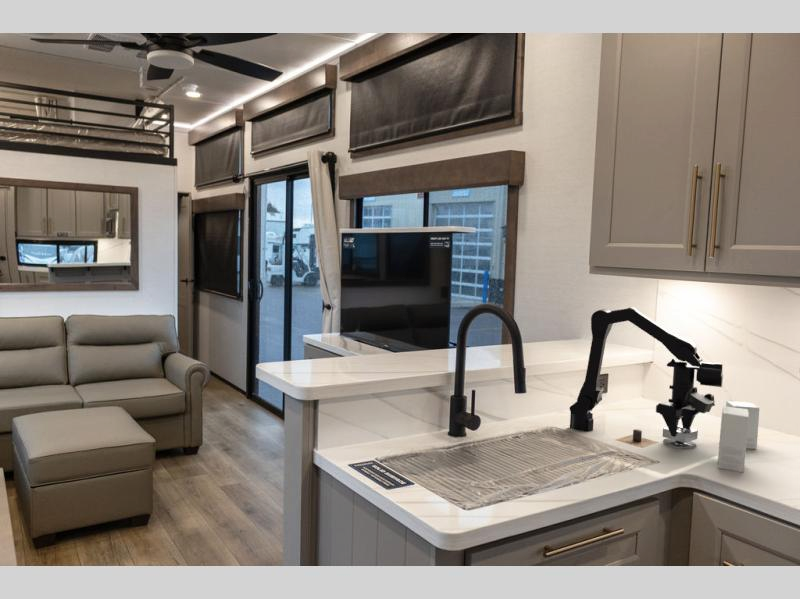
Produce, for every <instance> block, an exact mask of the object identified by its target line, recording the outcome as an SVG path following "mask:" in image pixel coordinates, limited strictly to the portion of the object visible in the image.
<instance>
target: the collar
mask: <svg viewBox="0 0 800 599" xmlns="http://www.w3.org/2000/svg"><path fill="white" fill-rule="evenodd" d="M677 428H681V429H684V430H685V431H684V432H682V431H678V430H677V432H676V436H675V437H673V436H671V434H670V431H669V429H668V427H667V426H666V427H663V428H662V438H664V439H666V438H669V439H673V440H677V441H680V442H684V443H686V442H689V441H692V442H693V441H695V440H698V433H699V431H698V430H699V429H695V428H691V427H690V428H687V427H683V425H679V424H678V427H677Z"/></svg>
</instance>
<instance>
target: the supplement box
mask: <svg viewBox="0 0 800 599" xmlns="http://www.w3.org/2000/svg"><path fill="white" fill-rule="evenodd" d="M725 403H726V405H725V406H726V407H733V408H742V409H748V412H749V424H748V435H747V446H746V449H749V450H751V449H752V450H756V449H758V448H757V447H758V436H759V435H758V434H759V421H760V420H759V419H760V417H759V416H760V407H759V406H757V405H755V404H754V403H752V402H749V401H729V400H727V401H726V402H725Z"/></svg>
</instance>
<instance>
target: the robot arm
mask: <svg viewBox="0 0 800 599" xmlns="http://www.w3.org/2000/svg"><path fill="white" fill-rule="evenodd" d="M623 322H630V323H631V324H633V325H634V326H635V327H637V328H639V329H640V330H641V331H643V332H644V333H646V334H648V335H649V336H651V337H652V338H654V339H656V340H657V341H658V342H660V343H661V344H662V345H663V346H664V347H665V348H666V349H667V351H669V352H670V354H671V355H673V356H674V357H673V358H672V359H671V360H670V361H669V362H668V363H667V364H666V366H667V367H670V368H673V371H672V372H673V374H672V384H669V389H670V390H671V397H670V398H668V401H663V402H660V403H658V404H657V405H656V406H655V413H657V414H659V415H660V416H661V417H662V418H663V420H664V422H665V424H666V427H668V429H669V431H670V434H671V436H673V437H675V436H676V432H677V427H678V425H679V422H680V420H681V424H682V425H681V426H683V427H687V428H691V427H692V425H693V422H694V420H695V417H696V415H699V414H700V413H701V414H706V413H710V411H711V409H712V407H715V405H716V404H715V402H716V400H715V395H713V394H712V393H706V394H700V393H698V388H697V386H694V385H695V381H696V382H698V383H699V385H700V386H708V387H716V388H717V387H718V388H722V387H723V380H724V378H723V377H724V373H723V366H724V365H723V363H720V362H714V363H713V362H705V361H704V360H703V358H702V357H701V356H700V355H699V352H697V351H698V350H697V345H696V343H695V342H694V341H692V340H690V339H688V338H686V337H683V336H681V335H678V334H676V333H674V332H671V331H669V330H668V329H666V328H664V327H663V326H661V324H659V323H658V322H655V321H654V320H653V319H651V318H649V317H648V316H647V315H645V314H644V313H642V312H640V311H639V310H638V308H636V307H632V306H631V307H628V308H623V309H617V310H616V309H615V310H611V309H610V310H609V309H607V308H601V309H599V310H596V311H595V312H593V313H592V315H591V317H590V330H591V336H592V339H591V343H590V344H591V345H590V351H589V356H588V362H587V368H586V374H585V379H584V381H583V384H582V387H581V388H580V389H579V390H580V391H579V393H578V395H577V399H576V402H574V403H573V404H572V405H570V406H569V412H570V418H569V427H567V428H566V430H569V429H573V430H575V431H580V432H588V433H590V432H593V431H594V420H595V419H594V418H593V415H594V413H592V412H591V411H593V409H594V408H595V407H596V406H598V405H599V403H601V401H603V392H604V390H605V388H604V387H600V378H601V377H600V376H601V371H602V366H603V359H604V356H605V355H604V353H605V349H606V343H607V338H608V337H609V335H610V334H609V333H610V332H611V329H612V326H613V324H617V323H623ZM676 359H677V360H676ZM695 371H696V372H695ZM695 373H696V376H695ZM695 379H696V380H695Z"/></svg>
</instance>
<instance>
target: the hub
mask: <svg viewBox="0 0 800 599" xmlns="http://www.w3.org/2000/svg"><path fill="white" fill-rule="evenodd" d="M677 430H678V431H682V432H684V431H685V430H684V429H681V428H677ZM662 443H663V444H664V445H665V446H668V447H670V448H673V449H674V448H675V449H679V450H680V449H681V450H694V449H696V448H697V444H696V442H694V441H693V440H692V441H689V442H686V443H684V442H680V441H677V440H673V439H669V438H663V441H662Z"/></svg>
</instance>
